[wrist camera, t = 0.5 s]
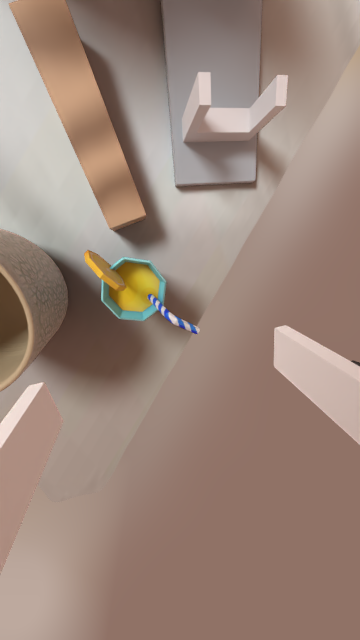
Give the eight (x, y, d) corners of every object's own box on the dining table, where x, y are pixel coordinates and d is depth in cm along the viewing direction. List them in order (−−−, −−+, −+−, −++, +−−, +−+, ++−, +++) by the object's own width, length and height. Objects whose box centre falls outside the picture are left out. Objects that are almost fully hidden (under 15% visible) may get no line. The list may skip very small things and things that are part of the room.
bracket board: (152, -108, 21) (162, -340, 13) (260, -90, 23) (331, -284, 15) (175, 186, 31) (189, 163, 22) (251, 182, 32) (292, 160, 24)
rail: (33, 50, 24) (8, 3, 19) (75, 36, 24) (60, -13, 19) (113, 231, 31) (109, 228, 27) (145, 219, 31) (146, 214, 27)
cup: (187, 281, 36) (220, 303, 22) (165, 319, 37) (182, 363, 23) (110, 234, 31) (88, 225, 17) (88, 280, 33) (51, 306, 19)
